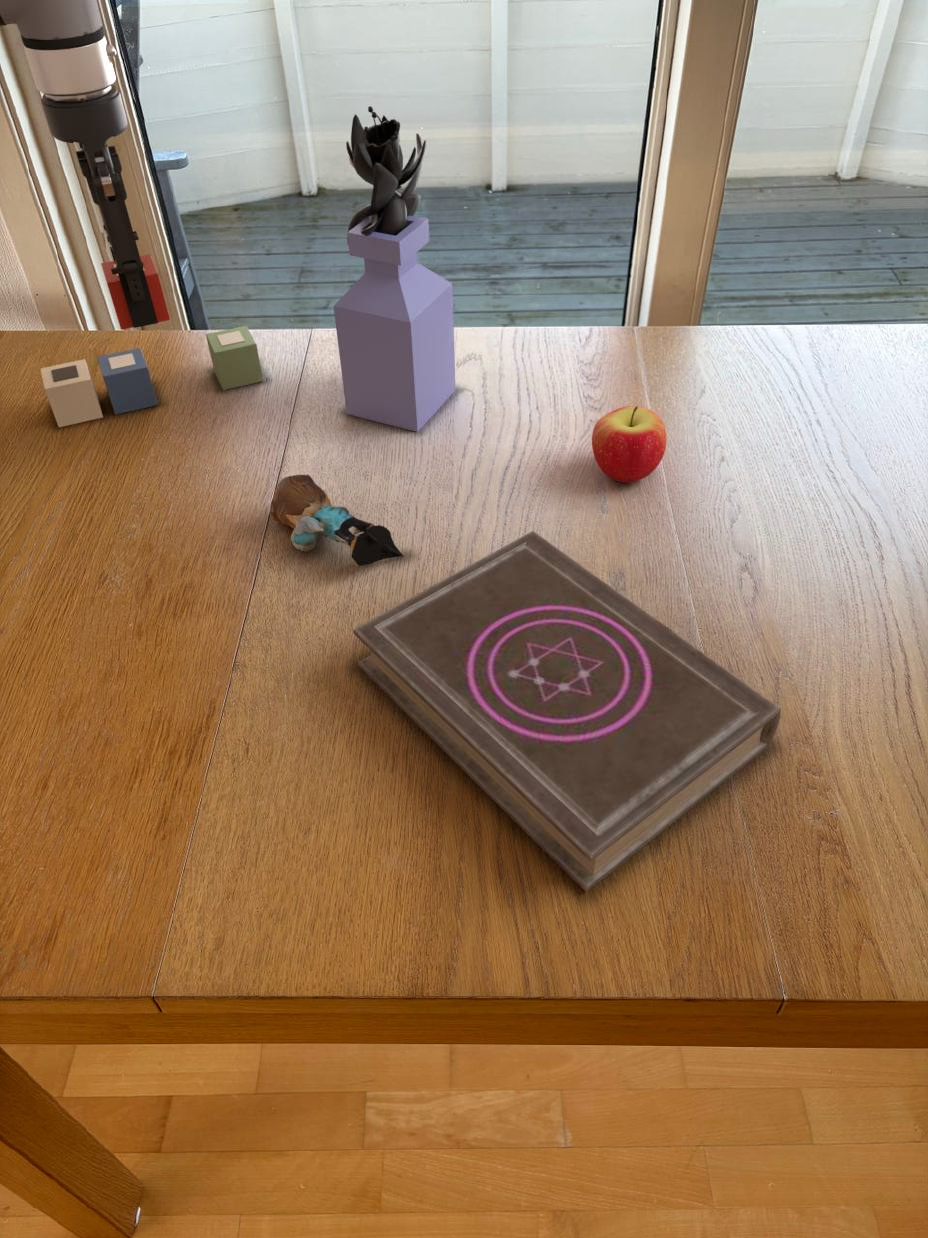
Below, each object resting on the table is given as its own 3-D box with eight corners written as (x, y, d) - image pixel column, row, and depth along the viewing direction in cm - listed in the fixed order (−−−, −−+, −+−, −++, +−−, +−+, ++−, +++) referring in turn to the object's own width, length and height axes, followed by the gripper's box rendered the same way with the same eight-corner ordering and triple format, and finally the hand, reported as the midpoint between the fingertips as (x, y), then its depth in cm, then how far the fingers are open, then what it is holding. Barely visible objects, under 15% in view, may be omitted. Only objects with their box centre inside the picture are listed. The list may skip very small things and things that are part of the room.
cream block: (58, 427, 120) (44, 388, 116) (54, 406, 123) (39, 367, 120) (103, 417, 121) (90, 378, 117) (97, 396, 125) (84, 358, 121)
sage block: (222, 390, 125) (214, 351, 121) (214, 371, 129) (205, 333, 125) (263, 381, 127) (256, 342, 123) (253, 362, 130) (246, 324, 126)
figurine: (309, 499, 108) (301, 454, 104) (405, 557, 100) (401, 512, 96) (257, 530, 104) (247, 485, 100) (353, 594, 96) (347, 548, 92)
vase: (389, 361, 130) (365, 76, 105) (465, 379, 126) (458, 87, 101) (335, 414, 121) (294, 114, 96) (415, 434, 117) (394, 128, 92)
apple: (594, 497, 107) (601, 421, 100) (584, 454, 113) (590, 379, 106) (667, 494, 107) (679, 418, 100) (653, 451, 113) (664, 376, 106)
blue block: (115, 414, 122) (102, 375, 118) (109, 394, 125) (96, 355, 121) (158, 405, 123) (147, 366, 119) (151, 384, 127) (140, 346, 123)
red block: (121, 329, 107) (106, 282, 103) (115, 308, 110) (100, 262, 106) (170, 319, 108) (157, 272, 104) (162, 299, 112) (150, 252, 108)
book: (358, 666, 89) (352, 629, 86) (535, 565, 99) (536, 527, 95) (586, 893, 72) (591, 857, 68) (772, 743, 82) (785, 705, 78)
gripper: (130, 110, 88) (188, 341, 104) (106, 60, 100) (161, 274, 116) (46, 122, 86) (118, 355, 102) (32, 70, 98) (99, 285, 114)
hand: (141, 311), depth 109 cm, fingers closed on red block, 5 cm apart
